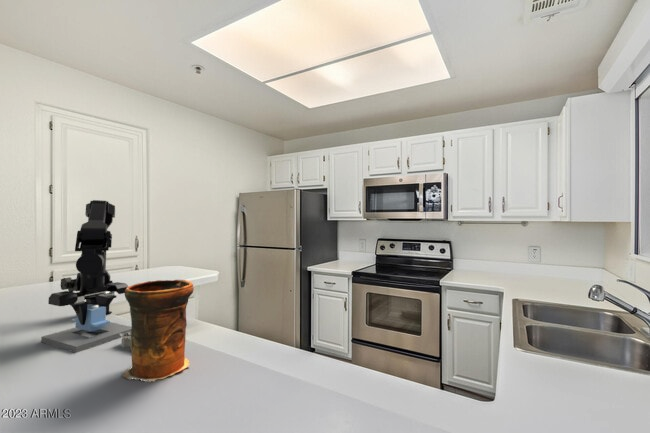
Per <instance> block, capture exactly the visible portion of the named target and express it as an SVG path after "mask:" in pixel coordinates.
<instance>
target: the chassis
mask: <svg viewBox="0 0 650 433" xmlns="http://www.w3.org/2000/svg"><path fill="white" fill-rule="evenodd" d="M131 328H132V326H130V325H126V324H125V325H124V324H119V323H115V322H111V321H110V323H108V324H105V328H101V329H98V330H95V331H91V332H90V331H86V330H82V329H78V328H75V327H72V328H68V329H65V330H61V331H58V332H53V333H50V334H46V335H42V336H40V337H41V341H40V342H41V343H43V344H47V345H50V346H53V347H57V348H59V349H63V350H66V351H70V352H73V353H79V352H83V351H85V350H88V349H91V348H94V347H97V346H100V345H103V344H105V343H108V342H112V341H114V340H117V339H120V338H121V339H122V337H121V336H120V334H123V333H126V332H130V331H131ZM88 333H95V334H96V335H93V336H90V337H88V336H85V335H84V334H88Z"/></svg>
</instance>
